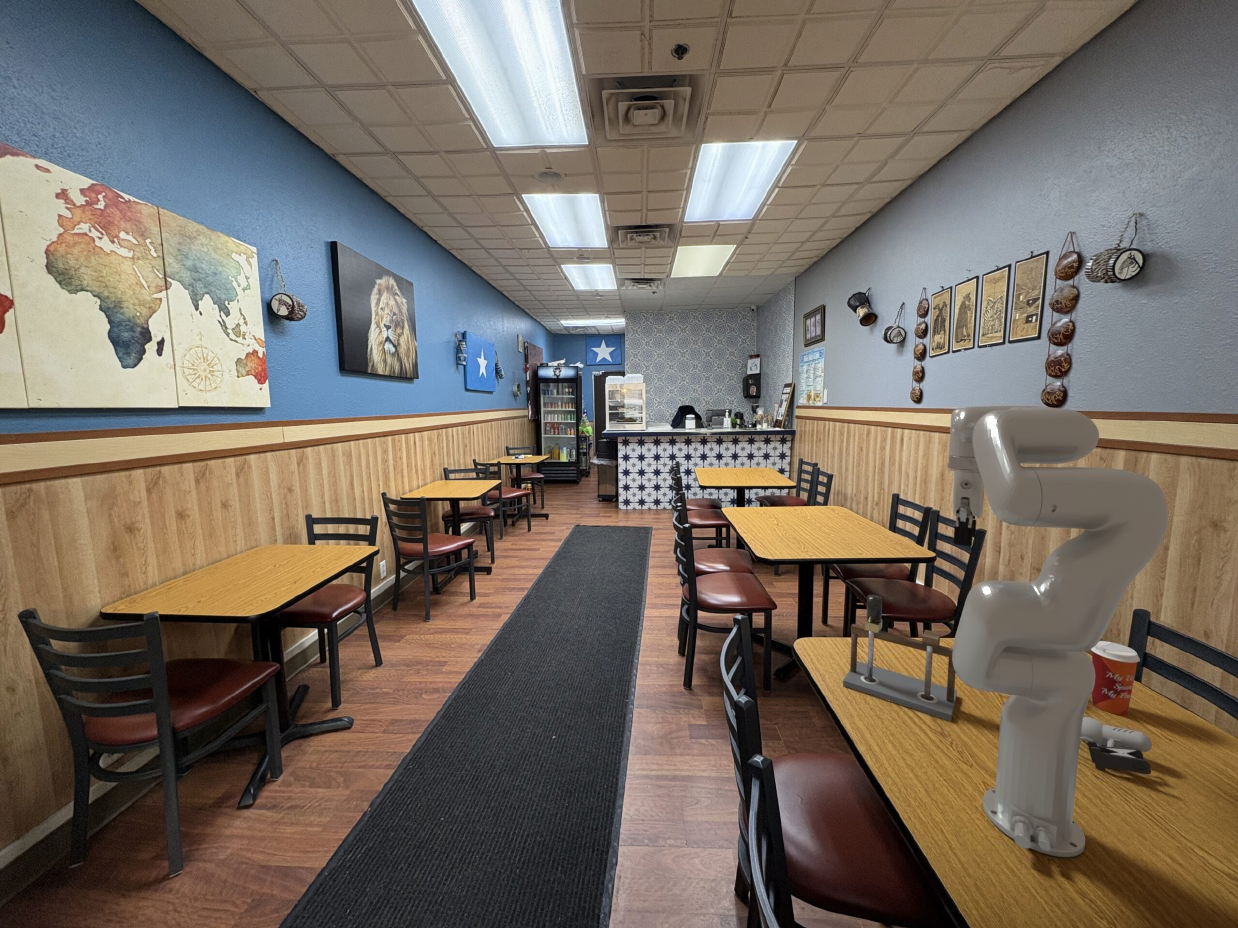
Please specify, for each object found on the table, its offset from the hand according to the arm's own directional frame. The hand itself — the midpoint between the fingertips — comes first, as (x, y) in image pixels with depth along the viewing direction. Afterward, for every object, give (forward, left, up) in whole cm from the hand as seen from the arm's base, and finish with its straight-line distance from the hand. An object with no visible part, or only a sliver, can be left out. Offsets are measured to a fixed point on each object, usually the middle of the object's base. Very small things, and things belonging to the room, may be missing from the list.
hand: (964, 540), depth 107 cm
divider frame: (-3, +11, -37) cm, 39 cm away
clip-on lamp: (-3, -21, -39) cm, 44 cm away
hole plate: (-3, +11, -38) cm, 40 cm away
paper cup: (+19, -27, -38) cm, 51 cm away
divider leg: (-3, +17, -36) cm, 40 cm away
